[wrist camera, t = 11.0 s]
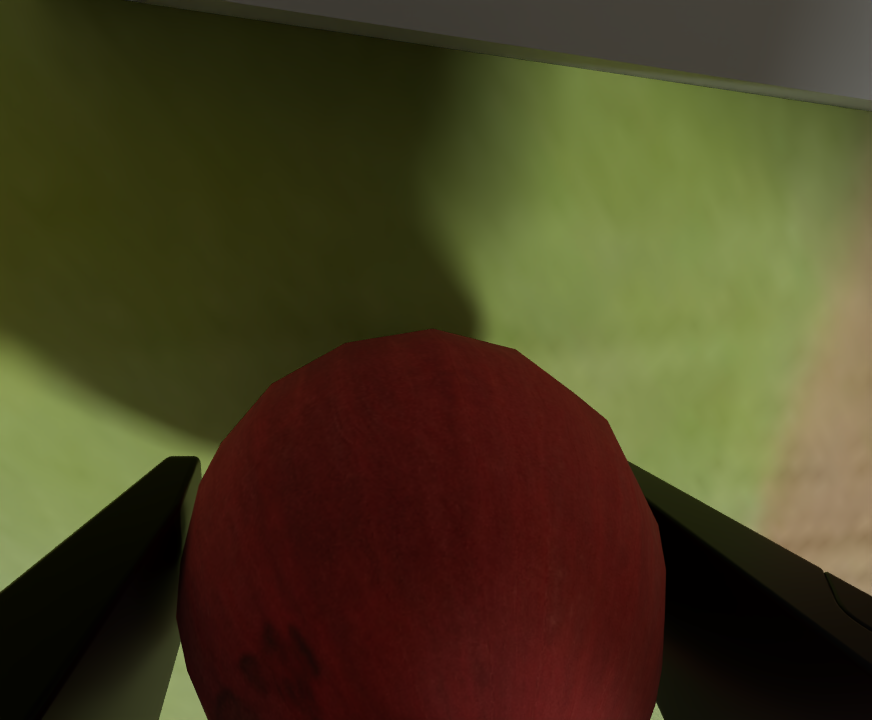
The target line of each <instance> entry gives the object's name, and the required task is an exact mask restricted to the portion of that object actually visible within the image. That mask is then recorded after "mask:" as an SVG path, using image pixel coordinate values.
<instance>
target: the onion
mask: <svg viewBox="0 0 872 720" xmlns="http://www.w3.org/2000/svg"><path fill="white" fill-rule="evenodd" d="M665 589H666V567H665V561H664V556H663V550H662V544H661V538H660V532H659V527H658V524H657V521H656V519H655V517H654V515H653V513H652V511H651V509H650V507H649V505H648V503H647V501H646V499H645V496H644V494H643V492H642V490H641V488H640V486H639V484H638V482H637V480H636V478H635V476H634V474H633V472H632V470H631V468H630V466H629V464H628V462H627V459H626V457H625V455H624V453H623V451H622V449H621V447H620V445H619V443H618V441H617V439H616V437H615V435H614V433H613V431H612V429H611V427H610V425H609V423H608V421H607V420H606V419H605V418H604V417H603V416H602V415H600V414H599V413H598V412H597V411H595V410H594V409H593V408H592V407H591V406H589V405H588V404H587V403H586V402H584V401H583V400H582V399H581V398H580V397H578V396H577V395H576V394H575V393H573V392H572V391H571V390H569V389H568V388H567V387H565V386H564V385H563V384H561V383H560V382H559V381H557V380H556V379H555V378H553V377H552V376H551V375H549V374H548V373H547V372H545V371H544V370H543V369H541V368H540V367H539V366H537V365H536V364H535V363H533V362H532V361H530V360H529V359H528V358H526V357H525V356H524V355H522V354H521V353H520V352H518V351H517V350H516V349H512V348H508V347H504V346H500V345H496V344H492V343H488V342H484V341H480V340H476V339H472V338H468V337H465V336H461V335H457V334H453V333H449V332H445V331H441V330H437V329H427V330H421V331H415V332H409V333H403V334H396V335H390V336H384V337H378V338H372V339H366V340H360V341H354V342H347V343H344V344H342V345H341V346H339V347H337V348H335V349H333V350H332V351H330V352H328V353H326V354H324V355H323V356H321V357H319V358H317V359H315V360H314V361H312V362H310V363H308V364H306V365H305V366H303V367H301V368H299V369H297V370H296V371H294V372H292V373H290V374H288V375H287V376H285V377H283V378H281V379H279V380H278V381H276V382H274V383H272V384H271V385H270V386H269V387H268V389H267V390H266V391H265V392H264V393H263V394H262V396H261V397H260V398H259V399H258V400H257V401H256V403H255V404H254V405H253V406H252V407H251V409H250V410H249V411H248V412H247V413H246V414H245V416H244V417H243V418H242V419H241V420H240V421H239V423H238V424H237V425H236V426H235V427H234V428H233V430H232V431H231V432H230V433H229V434H228V435H227V437H226V438H225V439H224V440H223V441H222V442H221V444H220V446H219V448H218V450H217V452H216V454H215V455H214V457H213V459H212V461H211V463H210V465H209V467H208V469H207V471H206V472H205V474H204V476H203V478H202V480H201V482H200V484H199V486H198V491H197V495H196V499H195V503H194V507H193V511H192V516H191V520H190V524H189V528H188V532H187V536H186V540H185V545H184V549H183V553H182V557H181V561H180V573H179V585H178V597H177V610H176V620H177V625H178V630H179V634H180V639H181V644H182V649H183V653H184V658H185V663H186V667H187V672H188V674H189V676H190V679H191V681H192V683H193V686H194V688H195V690H196V693H197V695H198V697H199V700H200V702H201V705H202V707H203V709H204V712H205V714H206V716H207V719H208V720H650V718H651V715H652V713H653V710H654V707H655V704H656V698H657V693H658V687H659V682H660V676H661V670H662V659H663V640H664V620H665Z"/></svg>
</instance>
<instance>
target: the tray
mask: <svg viewBox="0 0 872 720" xmlns="http://www.w3.org/2000/svg"><path fill="white" fill-rule="evenodd" d="M126 1H132V2H139V3H146V4H153V5H159V6H166V7H173V8H180V9H186V10H193V11H200V12H206V13H213V14H220V15H227V16H233V17H240V18H247V19H254V20H260V21H267V22H274V23H280V24H287V25H294V26H301V27H307V28H314V29H321V30H328V31H334V32H341V33H348V34H354V35H361V36H368V37H375V38H381V39H388V40H395V41H402V42H408V43H415V44H422V45H428V46H435V47H442V48H449V49H455V50H462V51H469V52H476V53H482V54H489V55H496V56H502V57H509V58H516V59H523V60H529V61H536V62H543V63H550V64H556V65H563V66H570V67H576V68H583V69H590V70H597V71H603V72H610V73H617V74H624V75H630V76H637V77H644V78H650V79H657V80H664V81H671V82H677V83H684V84H691V85H698V86H704V87H711V88H718V89H724V90H731V91H738V92H745V93H751V94H758V95H765V96H772V97H778V98H785V99H792V100H798V101H805V102H812V103H819V104H825V105H832V106H839V107H846V108H852V109H859V110H866V111H872V0H126Z"/></svg>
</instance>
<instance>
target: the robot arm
mask: <svg viewBox="0 0 872 720" xmlns="http://www.w3.org/2000/svg"><path fill="white" fill-rule="evenodd" d="M627 462H628V464H629V466H630V468H631V470H632V472H633V474H634V476H635V478H636V480H637V482H638V484H639V486H640V488H641V490H642V492H643V494H644V496H645V499H646V501H647V503H648V505H649V507H650V509H651V511H652V513H653V515H654V517H655V519H656V521H657V524H658V527H659V532H660V538H661V544H662V550H663V556H664V561H665V567H666V589H665V620H664V640H663V659H662V670H661V676H660V682H659V687H658V693H657V698H656V703H657V705H658V707H659V709H660V712H661V714H662V716H663V718H664V720H872V596H870V595H869V594H867V593H865V592H863V591H861V590H859V589H858V588H856V587H854V586H852V585H850V584H848V583H847V582H845V581H843V580H841V579H839V578H838V577H836V576H834V575H832V574H831V573H829V572H825V573H824V572H823V570H822V569H821V568H820V567H818V566H816V565H814V564H812V563H810V562H809V561H807V560H805V559H803V558H801V557H800V556H798V555H796V554H794V553H792V552H791V551H789V550H787V549H785V548H783V547H782V546H780V545H778V544H776V543H775V542H773V541H771V540H769V539H767V538H766V537H764V536H762V535H760V534H758V533H757V532H755V531H753V530H751V529H749V528H748V527H746V526H744V525H742V524H740V523H739V522H737V521H735V520H733V519H731V518H730V517H728V516H726V515H724V514H722V513H721V512H719V511H717V510H715V509H713V508H712V507H710V506H708V505H706V504H704V503H703V502H701V501H699V500H697V499H695V498H694V497H692V496H690V495H688V494H686V493H685V492H683V491H681V490H679V489H677V488H676V487H674V486H672V485H670V484H668V483H667V482H665V481H663V480H661V479H659V478H658V477H656V476H654V475H652V474H650V473H649V472H647V471H645V470H643V469H641V468H640V467H638V466H636V465H634V464H632V463H631V462H629V461H627ZM201 480H202V477H201V463H200V460H199V458H198V457H196V456H170V457H168V458H166V459H165V460H163V461H162V462H161V463H160V464H158V465H157V466H156V467H155V468H153V469H152V470H151V471H150V472H148V473H147V474H146V475H145V476H143V477H142V478H141V479H140V480H139V481H137V482H136V483H135V484H134V485H132V486H131V487H130V488H129V489H127V490H126V491H125V492H124V493H122V494H121V495H120V496H119V497H117V498H116V499H115V500H114V501H112V502H111V503H110V504H109V505H108V506H106V507H105V508H104V509H103V510H101V511H100V512H99V513H98V514H96V515H95V516H94V517H93V518H91V519H90V520H89V521H88V522H86V523H85V524H84V525H83V526H82V527H80V528H79V529H78V530H77V531H75V532H74V533H73V534H72V535H70V536H69V537H68V538H67V539H65V540H64V541H63V542H62V543H60V544H59V545H58V546H57V547H55V548H54V549H53V550H52V551H51V552H49V553H48V554H47V555H46V556H44V557H43V558H42V559H41V560H39V561H38V562H37V563H36V564H34V565H33V566H32V567H31V568H29V569H28V570H27V571H26V572H25V573H23V574H22V575H21V576H20V577H18V578H17V579H16V580H15V581H13V582H12V583H11V584H10V585H8V586H7V587H6V588H5V589H3V590H2V591H1V592H0V720H159V717H160V713H161V710H162V706H163V703H164V699H165V695H166V692H167V688H168V685H169V681H170V678H171V674H172V671H173V667H174V663H175V660H176V656H177V653H178V649H179V646H180V642H181V639H180V634H179V630H178V625H177V620H176V610H177V597H178V585H179V573H180V561H181V557H182V553H183V549H184V545H185V540H186V536H187V532H188V528H189V524H190V520H191V516H192V511H193V507H194V503H195V499H196V495H197V491H198V486H199V484H200V482H201Z"/></svg>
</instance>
